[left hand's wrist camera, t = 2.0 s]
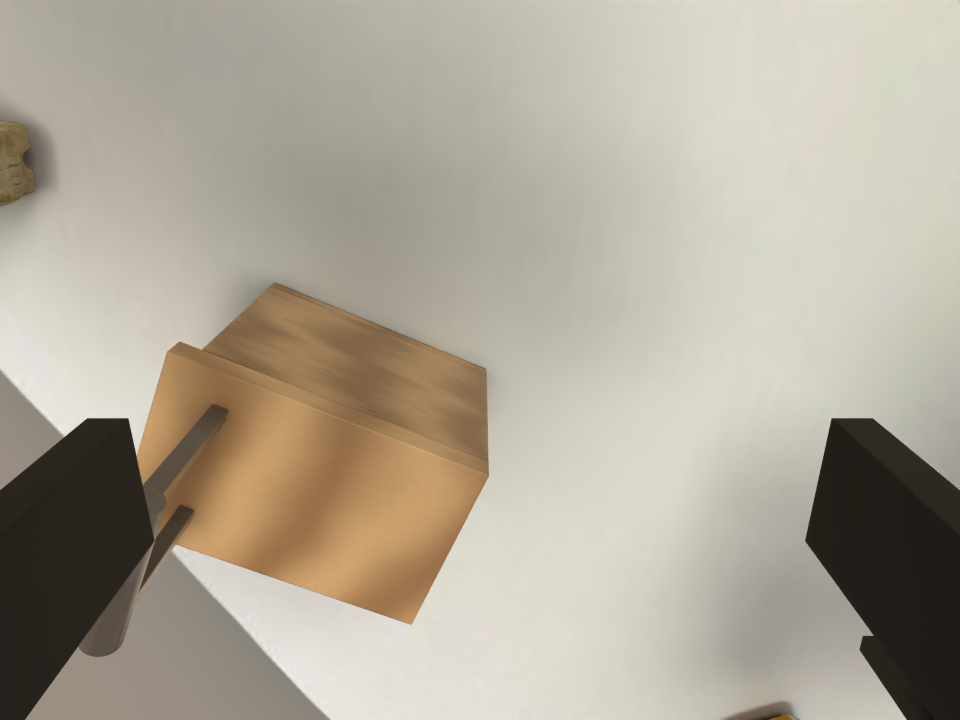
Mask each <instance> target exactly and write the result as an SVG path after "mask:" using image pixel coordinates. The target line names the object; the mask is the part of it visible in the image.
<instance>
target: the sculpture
mask: <svg viewBox="0 0 960 720" xmlns="http://www.w3.org/2000/svg"><path fill="white" fill-rule="evenodd" d="M29 149H30V140H29V136H28V133H27V129H26V128H25V126H24V125H22V124H18V123H14V122H6V121H0V206H3V205H6V204H9V203H12V202H14V201H16V200H18V199H19V198H20V197H21V196H24V195H27V194H29V193H32V192H34V191H35V175H34V171H33V170H32V169H31V168H29V167H27V166H26V165H25V164H24V162H23V155H24V153H25V152H26V151H27V150H29Z"/></svg>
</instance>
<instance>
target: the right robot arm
mask: <svg viewBox="0 0 960 720" xmlns="http://www.w3.org/2000/svg"><path fill="white" fill-rule="evenodd" d="M860 651H861V653H862V654H863V656H864V657H865V659H866V660H867V662H868V663H869V664H870V666H871V667H872V669H873V670H874V672H875V673H876V675H877V676H878V678H879V679H880V681H881V682H882V684H883V685H884V687H885V688H886V690H887V691H888V693H889V694H890V695H891V697H892V698H893V700H894V701H895V703H896V704H897V706H898V707H899V709H900V710H901V712H902V713H903V715H904V716H905V718H906V719H907V720H935V719H934V717H933V716H932V715H931V713H930V712H929V711H928V709H927V708H926V706H925V705H924V704H923V702H922V701H921V700H920V698H919V697H918V695H917V694H916V693H915V691H914V690H913V689H912V687H911V686H910V684H909V683H908V682H907V680H906V679H905V678H904V676H903V675H902V673H901V672H900V671H899V669H898V668H897V667H896V665H895V664H894V662H893V661H892V660H891V658H890V657H889V656H888V654H887V653H886V651H885V650H884V649H883V647H882V646H881V645H880V643H879V642H878V640H877V639H876V638H875V636H863V638H862V642H861V646H860Z"/></svg>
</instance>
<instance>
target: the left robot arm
mask: <svg viewBox="0 0 960 720" xmlns="http://www.w3.org/2000/svg"><path fill="white" fill-rule="evenodd" d="M154 541H155V539H154V535H153V530H152V526H151V521H150V516H149V512H148V507H147V503H146V498H145V493H144V489H143V484H142V479H141V475H140V470H139V466H138V461H137V456H136V452H135V447H134V443H133V438H132V433H131V429H130V424H129V419H128V418H87V419H86V420H85V421H84V422H82V423H81V424H80V425H79V426H77V427H76V428H75V429H74V430H73V431H71V432H70V433H69V434H68V435H67V436H65V437H64V438H63V439H62V440H61V441H59V442H58V443H57V444H56V445H55V446H53V447H52V448H51V449H50V450H49V451H47V452H46V453H45V454H44V455H42V456H41V457H40V458H39V459H38V460H36V461H35V462H34V463H33V464H31V465H30V466H29V467H28V468H27V469H25V470H24V471H23V472H22V473H21V474H19V475H18V476H17V477H16V478H15V479H13V480H12V481H11V482H10V483H9V484H7V485H6V486H5V487H4V488H2V489H1V490H0V720H25V719H26V717H27V716H28V715H29V713H30V712H31V711H32V709H33V708H34V706H35V705H36V704H37V702H38V701H39V699H40V698H41V697H42V695H43V694H44V693H45V691H46V690H47V688H48V687H49V686H50V684H51V683H52V682H53V680H54V679H55V678H56V676H57V675H58V673H59V672H60V671H61V669H62V668H63V667H64V665H65V664H66V662H67V661H68V660H69V658H70V657H71V655H72V654H73V653H74V651H75V650H76V649H77V647H78V646H79V645H80V643H81V642H82V640H83V639H84V638H85V636H86V635H87V634H88V632H89V631H90V629H91V628H92V627H93V625H94V624H95V623H96V621H97V620H98V618H99V617H100V616H101V614H102V613H103V612H104V610H105V609H106V607H107V606H108V605H109V603H110V602H111V601H112V599H113V598H114V596H115V595H116V594H117V592H118V591H119V590H120V588H121V587H122V585H123V584H124V583H125V581H126V580H127V579H128V577H129V576H130V574H131V573H132V572H133V570H134V569H135V568H136V566H137V565H138V563H139V562H140V561H141V559H142V558H143V557H144V555H145V554H146V552H147V551H148V550H149V548H150V547H151V546H152V544H153V543H154ZM805 541H806V543H807V544H808V546H809V547H810V548H811V550H812V551H813V552H814V554H815V555H816V557H817V558H818V559H819V561H820V562H821V563H822V565H823V566H824V568H825V569H826V570H827V572H828V573H829V574H830V576H831V577H832V579H833V580H834V581H835V583H836V584H837V585H838V587H839V588H840V590H841V591H842V592H843V594H844V595H845V596H846V598H847V599H848V601H849V602H850V603H851V605H852V606H853V607H854V609H855V610H856V612H857V613H858V614H859V616H860V617H861V618H862V620H863V621H864V623H865V624H866V625H867V627H868V628H869V629H870V631H871V632H872V634H873V635H874V636H875V638H876V639H877V640H878V642H879V643H880V645H881V646H882V647H883V649H884V650H885V651H886V653H887V654H888V656H889V657H890V658H891V660H892V661H893V662H894V664H895V665H896V667H897V668H898V669H899V671H900V672H901V673H902V675H903V676H904V678H905V679H906V680H907V682H908V683H909V684H910V686H911V687H912V689H913V690H914V691H915V693H916V694H917V695H918V697H919V698H920V700H921V701H922V702H923V704H924V705H925V706H926V708H927V709H928V711H929V712H930V713H931V715H932V716H933V717H934V719H935V720H960V490H959V489H958V488H956V487H955V486H954V485H953V484H952V483H950V482H949V481H948V480H947V479H945V478H944V477H943V476H942V475H941V474H939V473H938V472H937V471H936V470H935V469H933V468H932V467H931V466H930V465H929V464H927V463H926V462H925V461H924V460H922V459H921V458H920V457H919V456H918V455H916V454H915V453H914V452H913V451H912V450H910V449H909V448H908V447H907V446H906V445H904V444H903V443H902V442H901V441H899V440H898V439H897V438H896V437H895V436H893V435H892V434H891V433H890V432H889V431H887V430H886V429H885V428H884V427H883V426H881V425H880V424H879V423H878V422H876V421H875V420H874V419H873V418H832V419H831V424H830V429H829V433H828V438H827V442H826V447H825V452H824V456H823V461H822V466H821V470H820V475H819V479H818V484H817V489H816V493H815V498H814V503H813V507H812V512H811V516H810V521H809V526H808V530H807V535H806V539H805Z"/></svg>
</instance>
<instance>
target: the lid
mask: <svg viewBox="0 0 960 720" xmlns="http://www.w3.org/2000/svg"><path fill="white" fill-rule="evenodd" d="M137 461H138V466H139V470H140V475H141V479H142V484H143V489H144V493H145V498H146V503H147V507H148V512H149V516H150V521H151V526H152V530H153V535H154V539H155V541H154V543H153V544H152V546H151V547H150V548H149V550H148V551H147V552H146V554H145V555H144V557H143V558H142V559H141V561H140V562H139V563H138V565H137V566H136V568H135V569H134V570H133V572H132V573H131V574H130V576H129V577H128V579H127V580H126V581H125V583H124V584H123V585H122V587H121V588H120V590H119V591H118V592H117V594H116V595H115V596H114V598H113V599H112V601H111V602H110V603H109V605H108V606H107V607H106V609H105V610H104V612H103V613H102V614H101V616H100V617H99V618H98V620H97V621H96V623H95V624H94V625H93V627H92V628H91V629H90V631H89V632H88V634H87V635H86V636H85V638H84V639H83V640H82V642H81V643H80V645H79V646H78V647H79V648H80V650H81V651H82V652H84V653H85V654H87V655H90V656H95V657H101V656H106V655H109V654H111V653H113V652H115V651H116V650H117V649H118V648H119V647H120V646H121V645H122V643H123V640H124V637H125V633H126V630H127V627H128V624H129V621H130V618H131V615H132V612H133V608H134V605H135V604H136V602H137V601H138V599H139V598H140V596H141V595H142V594H143V592H144V591H145V589H146V588H147V586H148V585H149V583H150V582H151V580H152V579H153V577H154V576H155V574H156V573H157V571H158V570H159V568H160V567H161V565H162V564H163V562H164V561H165V559H166V558H167V556H168V555H169V553H170V552H171V551H172V549H173V548H174V546H175V545H179V546H182V547H185V548H188V549H191V550H194V551H197V552H200V553H203V554H205V555H208V556H211V557H214V558H217V559H220V560H223V561H226V562H229V563H232V564H235V565H238V566H241V567H244V568H246V569H249V570H252V571H255V572H258V573H261V574H264V575H267V576H270V577H273V578H276V579H279V580H282V581H284V582H287V583H290V584H293V585H296V586H299V587H302V588H305V589H308V590H311V591H314V592H317V593H320V594H323V595H325V596H328V597H331V598H334V599H337V600H340V601H343V602H346V603H349V604H352V605H355V606H358V607H361V608H364V609H366V610H369V611H372V612H375V613H378V614H381V615H384V616H387V617H390V618H393V619H396V620H399V621H402V622H405V623H407V624H410V625H411V624H412V623H413V621H414V619H415V617H416V615H417V613H418V611H419V609H420V607H421V605H422V604H423V602H424V600H425V598H426V596H427V594H428V592H429V590H430V588H431V586H432V584H433V582H434V580H435V579H436V577H437V575H438V573H439V571H440V569H441V567H442V565H443V563H444V561H445V559H446V557H447V555H448V553H449V552H450V550H451V548H452V546H453V544H454V542H455V540H456V538H457V536H458V534H459V532H460V530H461V528H462V527H463V525H464V523H465V521H466V519H467V517H468V515H469V513H470V511H471V509H472V507H473V505H474V503H475V501H476V500H477V498H478V496H479V494H480V492H481V490H482V488H483V486H484V484H485V482H486V480H487V478H488V476H489V462H488V461H486V460H484V459H481V458H478V457H476V456H473V455H471V454H468V453H466V452H463V451H460V450H458V449H455V448H453V447H450V446H447V445H445V444H442V443H440V442H437V441H435V440H432V439H429V438H427V437H424V436H422V435H419V434H417V433H414V432H411V431H409V430H406V429H404V428H401V427H399V426H396V425H393V424H391V423H388V422H386V421H383V420H381V419H378V418H375V417H373V416H370V415H368V414H365V413H362V412H360V411H357V410H355V409H352V408H350V407H347V406H344V405H342V404H339V403H337V402H334V401H332V400H329V399H326V398H324V397H321V396H319V395H316V394H314V393H311V392H308V391H306V390H303V389H301V388H298V387H296V386H293V385H290V384H288V383H285V382H283V381H280V380H278V379H275V378H272V377H270V376H267V375H265V374H262V373H259V372H257V371H254V370H252V369H249V368H247V367H244V366H241V365H239V364H236V363H234V362H231V361H229V360H226V359H223V358H221V357H218V356H216V355H213V354H211V353H208V352H205V351H203V350H200V349H198V348H195V347H193V346H190V345H187V344H185V343H182V342H178V343H177V344H176V345H175V346H174V347H172V348H171V349H170V350H169V351H168V352H167V354H166V357H165V361H164V364H163V368H162V371H161V375H160V378H159V382H158V385H157V388H156V392H155V395H154V399H153V402H152V406H151V409H150V413H149V416H148V420H147V423H146V426H145V430H144V433H143V437H142V440H141V444H140V447H139V451H138V454H137Z"/></svg>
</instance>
